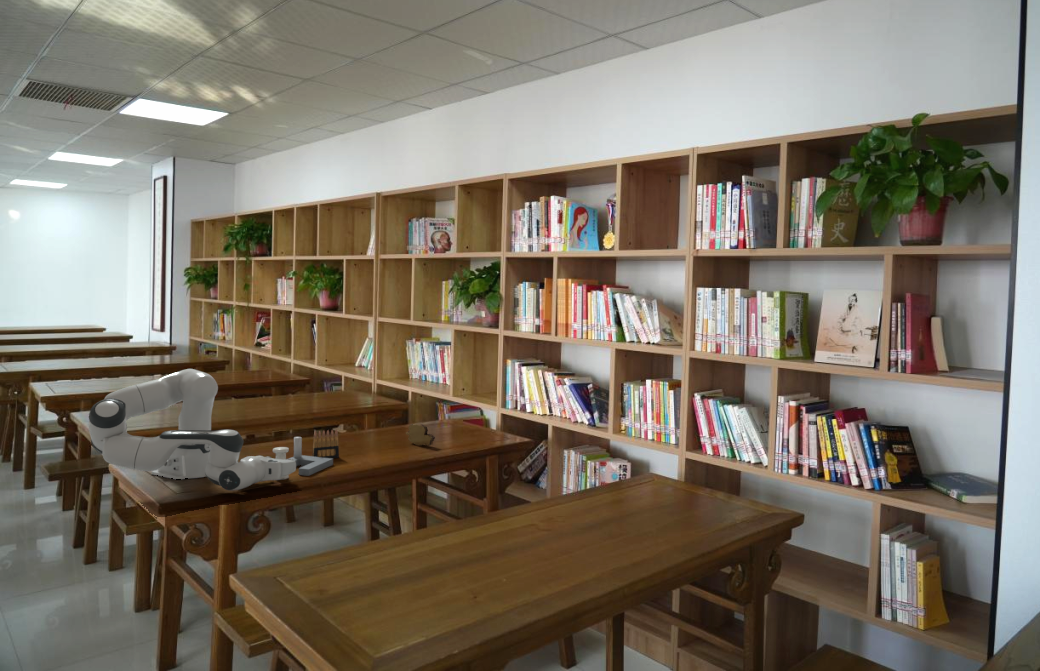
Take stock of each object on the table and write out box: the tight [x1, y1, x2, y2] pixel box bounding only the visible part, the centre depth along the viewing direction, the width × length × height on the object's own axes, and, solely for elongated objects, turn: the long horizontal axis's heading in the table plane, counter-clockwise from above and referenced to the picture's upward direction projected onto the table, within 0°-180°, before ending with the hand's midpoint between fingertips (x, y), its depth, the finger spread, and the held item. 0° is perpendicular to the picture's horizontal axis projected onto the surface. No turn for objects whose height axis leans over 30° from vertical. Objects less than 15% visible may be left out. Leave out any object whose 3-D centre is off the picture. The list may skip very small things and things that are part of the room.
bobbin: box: [272, 446, 290, 481], centre depth 266 cm, size 6×6×11 cm
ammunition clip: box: [311, 429, 340, 459], centre depth 297 cm, size 11×2×12 cm, turn 121°
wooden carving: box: [405, 422, 436, 447], centre depth 327 cm, size 16×5×10 cm, turn 59°
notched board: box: [286, 436, 334, 477], centre depth 280 cm, size 16×18×10 cm
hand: (280, 459), depth 265 cm, fingers open, 8 cm apart
